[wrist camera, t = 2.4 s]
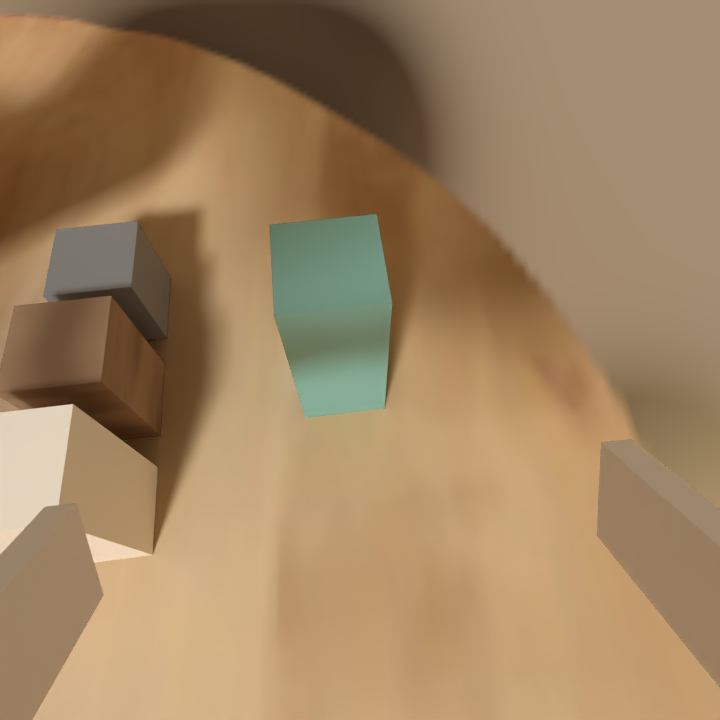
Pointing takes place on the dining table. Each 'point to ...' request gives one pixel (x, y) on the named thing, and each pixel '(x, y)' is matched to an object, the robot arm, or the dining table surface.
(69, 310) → the walnut block
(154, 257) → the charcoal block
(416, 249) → the dining table surface
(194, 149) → the dining table surface
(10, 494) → the cream block
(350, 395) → the teal block
